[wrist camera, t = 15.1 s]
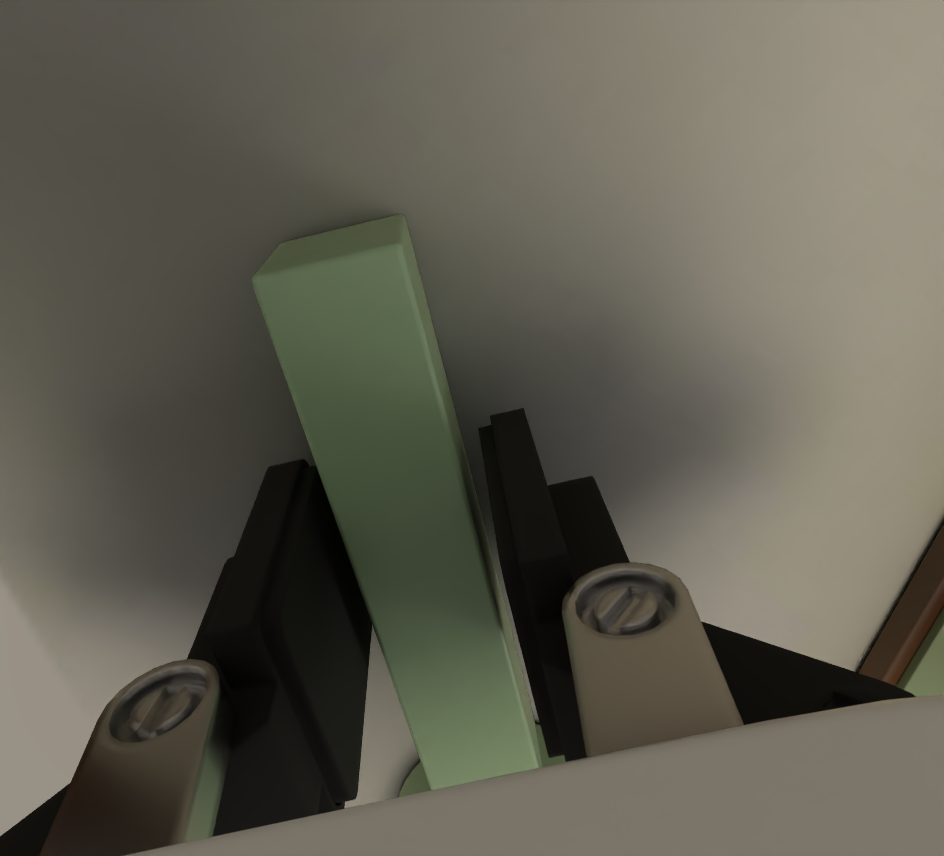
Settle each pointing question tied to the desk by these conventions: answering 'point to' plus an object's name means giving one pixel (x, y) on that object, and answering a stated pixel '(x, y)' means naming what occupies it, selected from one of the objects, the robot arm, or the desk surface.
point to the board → (915, 632)
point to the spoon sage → (402, 494)
